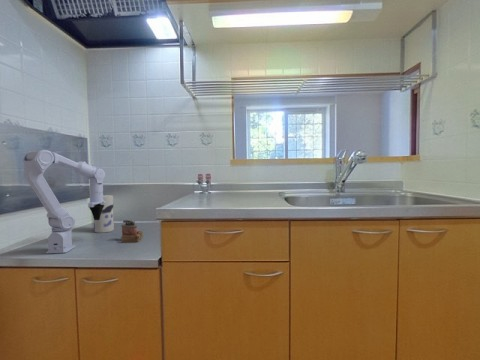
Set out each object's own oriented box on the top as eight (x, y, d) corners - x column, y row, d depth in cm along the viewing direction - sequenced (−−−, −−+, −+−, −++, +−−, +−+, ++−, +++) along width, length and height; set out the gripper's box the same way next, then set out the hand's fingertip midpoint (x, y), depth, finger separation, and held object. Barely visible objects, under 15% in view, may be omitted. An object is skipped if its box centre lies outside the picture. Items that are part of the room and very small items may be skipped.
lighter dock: (138, 242, 127) (138, 236, 127) (121, 242, 126) (121, 236, 125) (142, 236, 137) (142, 231, 137) (127, 237, 135) (127, 231, 135)
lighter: (138, 239, 132) (138, 219, 131) (135, 241, 128) (134, 221, 128) (124, 238, 133) (124, 219, 133) (120, 240, 130) (119, 220, 130)
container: (105, 233, 144) (104, 197, 143) (89, 232, 146) (89, 196, 145) (117, 229, 153) (117, 195, 152) (102, 228, 155) (102, 194, 154)
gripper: (99, 193, 122) (99, 222, 122) (110, 191, 136) (110, 217, 137) (83, 193, 121) (83, 222, 121) (95, 191, 135) (96, 217, 136)
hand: (96, 219), depth 129 cm, fingers closed
